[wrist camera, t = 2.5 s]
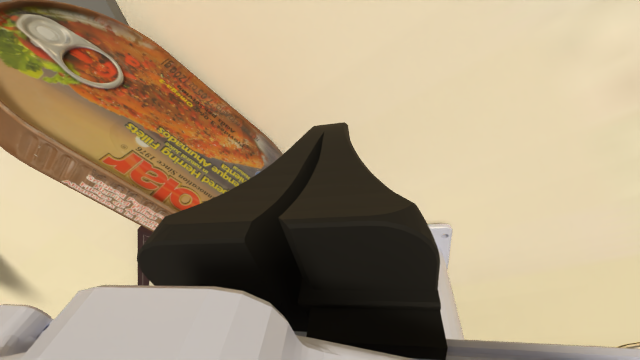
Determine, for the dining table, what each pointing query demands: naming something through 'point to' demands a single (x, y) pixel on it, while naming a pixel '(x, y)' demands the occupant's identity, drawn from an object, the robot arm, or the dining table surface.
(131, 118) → the tin
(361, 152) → the dining table surface
